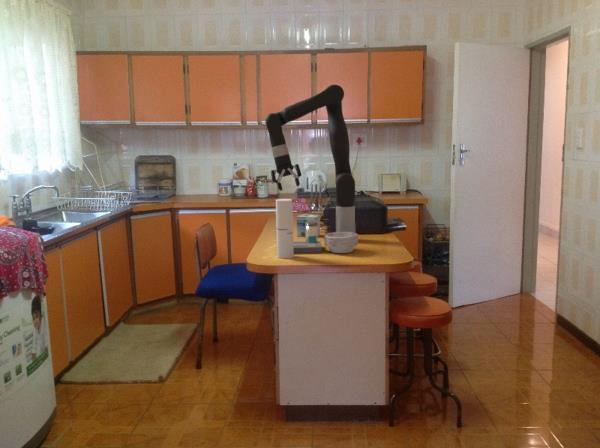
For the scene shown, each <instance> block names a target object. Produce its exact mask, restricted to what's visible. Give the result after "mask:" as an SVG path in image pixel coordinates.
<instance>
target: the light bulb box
mask: <svg viewBox="0 0 600 448" xmlns="http://www.w3.org/2000/svg"><path fill="white" fill-rule="evenodd" d="M320 216H321V215H320V214H305V213H304V214H303V213H302V214H299V215H297V216H296V237H302V238H306V223H308V222H316V223H318V237H319V236H320V235H321V218H320Z"/></svg>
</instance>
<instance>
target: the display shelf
mask: <svg viewBox="0 0 600 448" xmlns="http://www.w3.org/2000/svg"><path fill="white" fill-rule="evenodd" d="M322 246H323V245H322V243H321V240H318V244H306V241H293V251H294V254H315V253H316V254H321V253H322V252H323V251H322V249H323V247H322Z"/></svg>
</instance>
